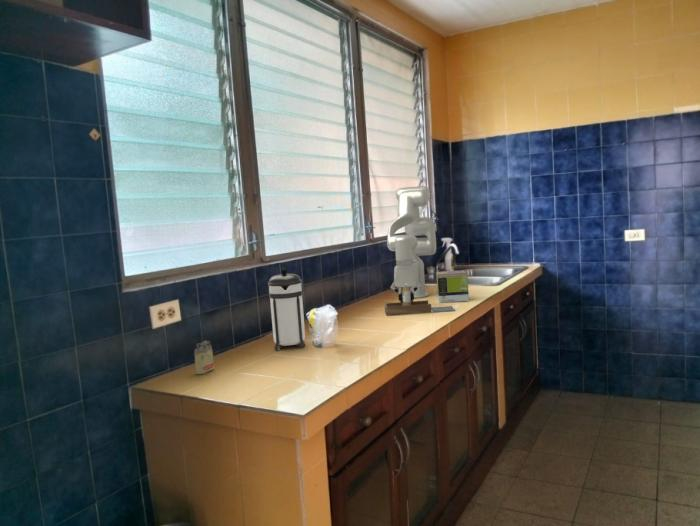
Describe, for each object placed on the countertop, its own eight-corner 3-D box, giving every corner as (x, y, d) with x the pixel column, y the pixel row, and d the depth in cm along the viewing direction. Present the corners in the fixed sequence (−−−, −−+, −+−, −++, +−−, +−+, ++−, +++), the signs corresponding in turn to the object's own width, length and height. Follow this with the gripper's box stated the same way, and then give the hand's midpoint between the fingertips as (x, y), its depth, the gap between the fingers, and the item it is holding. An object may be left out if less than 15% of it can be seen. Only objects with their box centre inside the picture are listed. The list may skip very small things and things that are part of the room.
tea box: (466, 298, 284) (465, 269, 283) (469, 301, 274) (467, 272, 273) (437, 299, 286) (436, 271, 284) (438, 303, 276) (437, 273, 274)
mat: (430, 308, 263) (430, 307, 263) (451, 307, 263) (451, 306, 263) (433, 312, 253) (433, 311, 253) (455, 311, 253) (455, 310, 253)
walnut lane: (384, 311, 263) (384, 303, 263) (428, 308, 263) (427, 300, 263) (386, 315, 253) (385, 307, 253) (431, 312, 253) (431, 304, 253)
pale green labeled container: (202, 375, 179) (199, 345, 178) (193, 374, 181) (190, 344, 180) (216, 368, 185) (213, 339, 184) (207, 367, 187) (205, 339, 186)
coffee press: (319, 343, 211) (313, 265, 208) (287, 353, 199) (281, 270, 196) (290, 338, 223) (284, 264, 219) (258, 347, 211) (251, 269, 208)
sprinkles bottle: (401, 307, 260) (399, 279, 259) (410, 307, 261) (409, 279, 259) (403, 309, 256) (401, 281, 254) (412, 308, 256) (411, 280, 255)
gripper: (421, 260, 260) (423, 299, 262) (385, 263, 260) (388, 301, 262) (423, 262, 252) (425, 302, 254) (386, 265, 252) (389, 304, 254)
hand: (406, 301), depth 258 cm, fingers closed on sprinkles bottle, 4 cm apart
